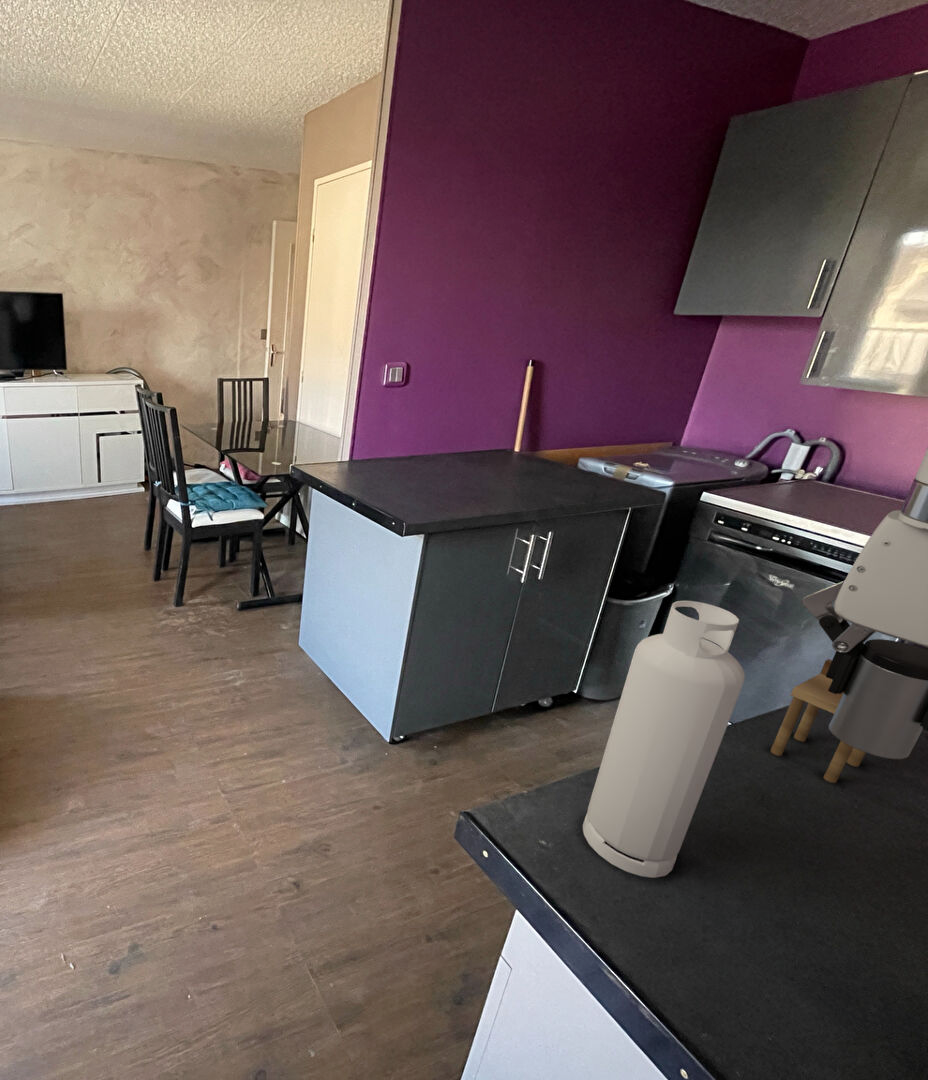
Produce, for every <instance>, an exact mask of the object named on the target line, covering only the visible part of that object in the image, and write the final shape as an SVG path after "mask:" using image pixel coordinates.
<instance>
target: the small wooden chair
mask: <svg viewBox="0 0 928 1080" xmlns="http://www.w3.org/2000/svg"><path fill="white" fill-rule="evenodd" d="M832 660H833V659H829V658H828V659H825V661H824V663H823V666H822V668H821V670H820V673H818V674H816V675H814V676H813V677H811V678H809V679H807V680H805V681H802V682H801V683H799V684H798V685H796V686H794V687H793V688H792V691H791V693H790V696H791V697H792V699H791V701H790V703H789V706H788V708H787V711H786V712H785V715H784V717H783V720H782V722H781V725H780V727H779V729H778V732H777V734H776V737H775V739H774V741H773V744H772V745H771V749H770V753H771V754H773V755H775V756H778V757H782V756H783V754H784V752H785V749H786V746H787V744H788V742H789V740H790V738H791V736H792V733H793V731H794V728H795V726H796V724H797V722H798V720H799V717H800V714H801V712H802V710H803V707H804V706H805V703H807V705H806V708H805V710H804V712H803V715H802V717H801V719H800V722H799V724H798V726H797V728H796V731H795V733H794V735H793V739H795V740H797V741H799V742H805V741H806V740H807V738H808V736H809V733H810V731H811V729H812V726H813V724H814V722H815V720H816V718H817V715H818V713H819V711H820V709H821V710H824V711H827V712H829V713H831V714H833V715H834V713H835V711H836V709H837V707H838V704H839V702H840V700H841V698H842V695H843V693H844V692H843V693H841V694H834V693H832V692H829V691H828V690H829V687H830V685H831V683H832V681H833V680H832V679H829V678H827V677H826V674H827V671H828V669H829V667H830V664H831V662H832ZM839 741H840V742H839V744H838V745H837V748H836V750H835V752H834V754H833V756H832V759H831V760H830V763H829V765H828V767H827V769H826V771H825V773H824V775H823V779H824V780H825V781H827V782H828V783H831V784H836V783H837V782H838V780H839V778H840V776H841V774H842V771H843V769H844V767H845V766H846V763H847V764H848V765H850V766H852V767H856V768H859V767H860V765H861V763H862V761H863V759H864V757H865V756H866V754H867V753H866V752H863V751H861V750H858V749H856V748H854V747H852V746H850V745H848V744H846V743H844V742H843V741H841V740H839Z"/></svg>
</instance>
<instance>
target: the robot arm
mask: <svg viewBox="0 0 928 1080" xmlns="http://www.w3.org/2000/svg"><path fill="white" fill-rule="evenodd" d="M800 601H801V604H802V605H803V606H804V607H805V609H806V610H807V611H808V612H809V613H810V615H812V616H813V617H814V618H815V619H817V621H818V624H819V626H820V627H821V629H822V630H823V632H825V634H826V635H827V637H828V638H829V639H830V641H831V642H832V644H831V646H832V649H833V650H834V651H835V653H834V655H833V658H832V659H831V660H832V662H831V664H830V667H829V669H828V671H827V674H826V677H827V678H829V679H832V680H833V681H832V683H831V685H830V687H829V690H828V691H829V692H832V693H834V694H841V693H843V692H844V691H845V689H846V686H847V684H848V682H849V680H850V678H851V675H852V673H853V671H854V669H855V666H856V664H857V662H858V660H859V657H860V655H861V651H862V649H863V647H864V644H865V642H867V641H868V640H869V639H870V638H871V637H872V636H873V635H874V634H875V633H876V632H877V633H879V634H882V635H885V636H889V637H892V638H895V639H898V640H901V641H904V642H906V643H907V642H909V643H911V644H913V645H914V644H915V645H916V646H919V647H922V648H926V649H928V447H927V448H926V451H925V453H924V455H923V457H922V460H921V462H920V464H919V467H918V469H917V471H916V474H915V476H914V479H913V481H912V483H911V486H910V488H909V490H908V492H907V495H906V497H905V499H904V501H903V504H902V506H901V508H900V510H892V511H890V512H889V513H887V515H886V516H885V517H884V518H883V519H882V520H881V521H880V523H879V524H878V525H877V527H876V528H875V529H874V530H873V533H872V534H871V535H870V537H869V538H868V539H867V541H866V543H865V544H864V546H863V548H862V549H861V551H860V553H859V554H858V556H857V557H856V560H854V563H853V564H852V567H851V568H850V570H849V571H848V574H847V575H846V578H845V579H844V580H843V581H840V582H838V583H835V584H833V585H830V586H828V587H826V588H823V589H821V590H818V591H815V592H813V593H811V594H808V595H806V596H803V598H802V599H801V600H800ZM833 602H834V606H833ZM850 624H851V625H850ZM920 726H922V727H923V730H925V731H928V710H927V712H926V714H925V716H924V718H923V720H922V722H921V724H920Z"/></svg>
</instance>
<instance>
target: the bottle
mask: <svg viewBox="0 0 928 1080" xmlns="http://www.w3.org/2000/svg"><path fill="white" fill-rule="evenodd" d="M682 607H684V608H685V607H687V608H692V609H695V610H696V612H697V613H698V619H696V618H693V617H689V616H687V615H685V614H683V613H681V612H680V611H678V610H677V609H676V608H682ZM739 623H740V619H739V618H738V616H737V615H736V614H734V613H733V612H731V611H729V610H727V609H724V608H722V607H719V606H716V605H714V604H710V603H706V602H702V601H701V602H700V601H694V600H677V601H675V602H672V604H671V607H670V609H669V613H668V617H667V619H666V623H665V626H664V629H663V632H662V633H657V634H653V635H649V636H648V637H647V636H646V637H645V638H643V639H642V640H641V641H640V642H638V644H637V645H636V647H635V649H634V651H633V655H632V658H631V662H630V665H629V669H628V673H627V675H626V679H625V682H624V686H623V689H622V691H621V694H620V695H621V696H620V699H619V701H618V705H617V709H616V712H615V716H614V719H613V722H612V726H611V729H610V733H609V735H608V739H607V743H606V746H605V749H604V752H603V757H602V759H601V763H600V766H599V770H598V773H597V776H596V780H595V783H594V787H593V789H592V793H591V796H590V800H589V803H588V807H587V812H586V814H585V817H584V820H583V824H582V832H583V836H584V838H585V839H586V841H587V843H588V845H589V846H590V847H591V848H592V849H593V850H594V852H596V853H597V854H598V855H599V856H600V857H601V858H603V859H604V860H605V861H607V862H608V863H610V864H611V865H613V866H614V867H617V868H618V869H621V870H622V871H625V872H627V873H629V874H632V875H636V876H640V877H645V878H660V877H665V876H667V875H669V874H670V873H671V872H672V871H673V868H674V867H675V863H676V860H677V858H678V854H679V853H680V850H681V847H682V845H683V842H684V840H685V837H686V835H687V832H688V830H689V827H690V825H691V822H692V819H693V816H694V814H695V811H696V809H697V806H698V804H699V800H700V798H701V795H702V794H703V791H704V787H705V785H706V783H707V780H708V777H709V775H710V772H711V769H712V767H713V764H714V762H715V760H716V759H715V758H716V756H717V754H718V752H719V749H720V746H721V743H722V741H723V739H724V736H725V733H726V730H727V727H728V725H729V723H730V719H731V717H732V715H733V712H734V710H735V707H736V704H737V701H738V699H739V697H740V694H741V691H742V689H743V686H744V683H745V679H746V678H745V676H746V675H745V672H744V668H743V666H742V665H741V663H740V662H739V661H738V659H736V658H735V656H733V654H731V653H730V652H729V650H730V647H731V645H732V641H733V638H734V635H735V633H736V630H737V628H738V625H739ZM606 843H607V844H606ZM612 847H613V848H612ZM620 852H621V853H620ZM624 854H625V855H624ZM626 855H627V856H626ZM628 856H629V857H628ZM630 857H631V858H630ZM633 858H635V859H633ZM637 859H638V860H637ZM640 860H641V861H640Z"/></svg>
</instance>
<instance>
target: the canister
mask: <svg viewBox="0 0 928 1080" xmlns="http://www.w3.org/2000/svg"><path fill="white" fill-rule="evenodd" d="M927 710H928V648H925V647H922V646H919V645H916V644H915V645H914V644H912V643H911V644H910V643H907V642H902V641H897V640H891V639H880V638H874V639H867V640H866V641H865V642H864V647H863V649H862V651H861V655H860V657H859V660H858V662H857V664H856V666H855V669H854V671H853V673H852V675H851V678H850V680H849V682H848V684H847V686H846V689H845V691H844V693H843V695H842V698H841V700H840V702H839V704H838V707H837V709H836V711H835V713H834V714H833V716H832V717H831V720H830V722H829V725H828V730H829V732H830V733H831V734H832V735H833V736H834V737H835V738H837V739H838V740H839V741H843V742H844V743H846V744H848V745H850V746H852V747H854V748H856V749H858V750H861V751H863V752H866V753H865V754H870V755H872V756H876V757H880V758H883V759H891V760H903V759H906V758H908V757H909V756H910V755H911V753H912V751H913V749H914V747H915V745H916V743H917V742H918V739H919V738H920V736H921V733H922V732H923V730H924V729H923V727H922V726H920V724H921V722H922V720H923V718H924V716H925V714H926V712H927Z"/></svg>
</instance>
